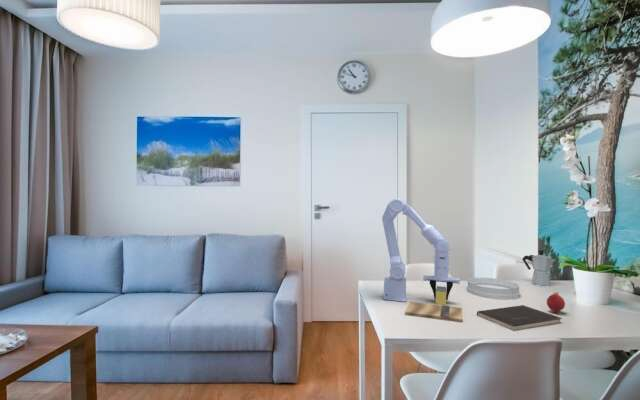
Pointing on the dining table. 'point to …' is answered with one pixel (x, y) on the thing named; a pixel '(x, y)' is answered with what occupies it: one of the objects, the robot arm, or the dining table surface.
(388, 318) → the dining table surface
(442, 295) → the block
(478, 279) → the dish
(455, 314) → the board
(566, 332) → the dining table surface
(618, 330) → the dining table surface
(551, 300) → the onion
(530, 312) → the hardcover book
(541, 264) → the coffee maker
